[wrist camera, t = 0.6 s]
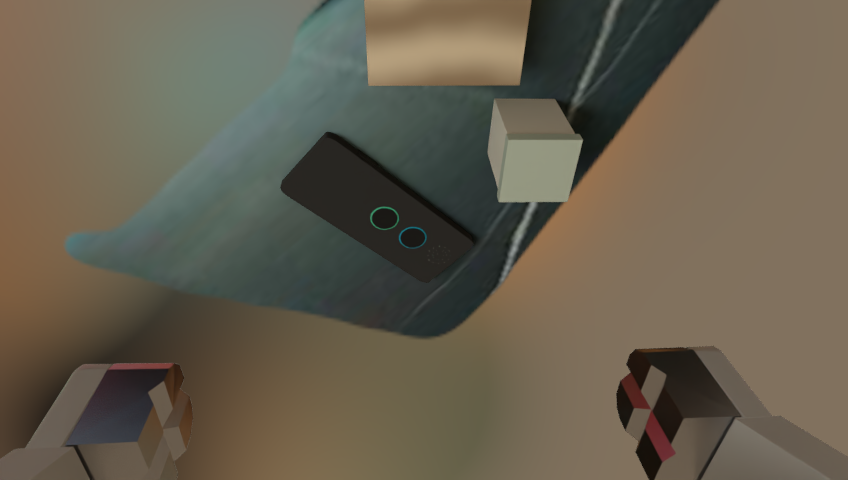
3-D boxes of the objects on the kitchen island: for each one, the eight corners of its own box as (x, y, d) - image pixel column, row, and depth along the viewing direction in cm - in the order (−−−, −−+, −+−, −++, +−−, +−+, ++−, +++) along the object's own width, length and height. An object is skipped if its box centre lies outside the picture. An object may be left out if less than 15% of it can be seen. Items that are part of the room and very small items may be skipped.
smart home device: (425, 286, 60) (276, 191, 51) (424, 276, 62) (279, 181, 52) (477, 244, 57) (328, 134, 47) (475, 234, 58) (330, 125, 49)
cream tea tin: (492, 96, 47) (508, 139, 41) (557, 96, 48) (582, 139, 42) (485, 154, 51) (498, 202, 45) (545, 154, 52) (567, 201, 45)
